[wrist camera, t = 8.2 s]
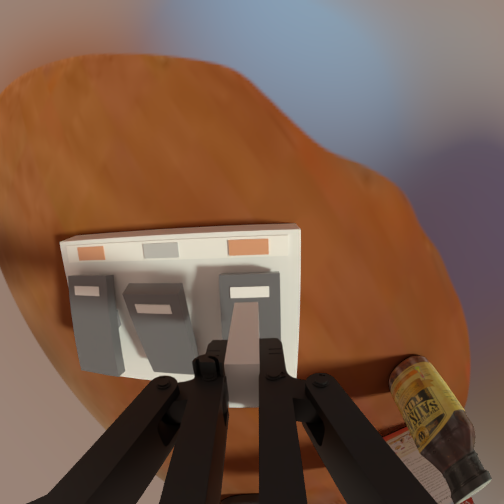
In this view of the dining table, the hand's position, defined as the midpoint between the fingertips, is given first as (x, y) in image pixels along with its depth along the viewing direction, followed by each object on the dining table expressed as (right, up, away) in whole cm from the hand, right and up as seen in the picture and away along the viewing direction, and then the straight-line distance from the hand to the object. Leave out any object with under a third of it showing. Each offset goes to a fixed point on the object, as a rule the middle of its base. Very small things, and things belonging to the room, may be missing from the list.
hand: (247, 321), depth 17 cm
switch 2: (0, -2, +4) cm, 4 cm away
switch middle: (-7, -2, +4) cm, 8 cm away
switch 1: (-14, -2, +4) cm, 15 cm away
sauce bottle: (+20, -11, +11) cm, 25 cm away
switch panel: (-7, -1, +8) cm, 11 cm away
